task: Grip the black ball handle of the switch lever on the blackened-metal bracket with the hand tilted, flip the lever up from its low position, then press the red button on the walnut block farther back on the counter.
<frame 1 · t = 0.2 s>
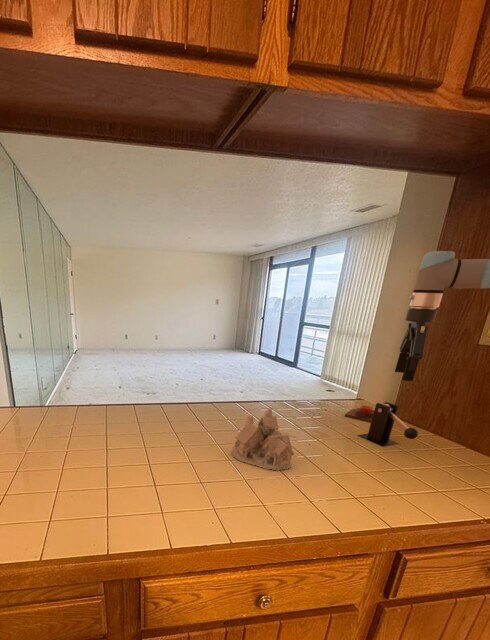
hand: (403, 376, 114), 23 cm above the worktop, tool pointing down, fingers open, 13 cm apart
switch lever: (398, 421, 112), point 10 cm above the worktop, hinge at -25.0°
red button: (366, 409, 139), point 4 cm above the worktop, slide at 0.1 cm
ceramic cottage: (260, 459, 106), on the worktop
button block: (363, 419, 141), on the worktop
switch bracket: (376, 442, 120), on the worktop
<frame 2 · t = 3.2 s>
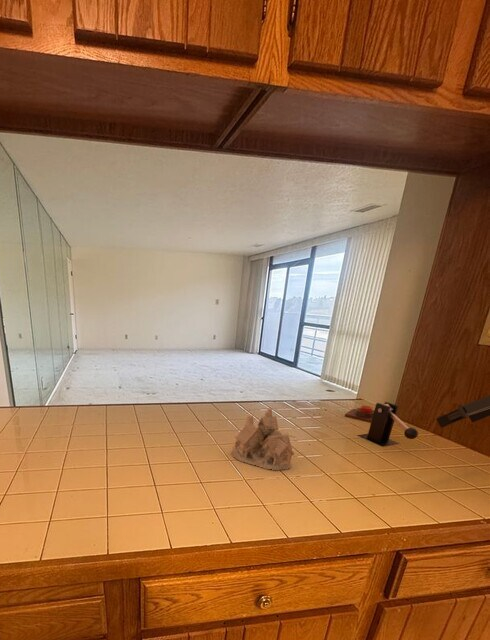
hand: (455, 420, 97), 15 cm above the worktop, tool tilted 45°, fingers open, 13 cm apart
nothing on the worktop moved.
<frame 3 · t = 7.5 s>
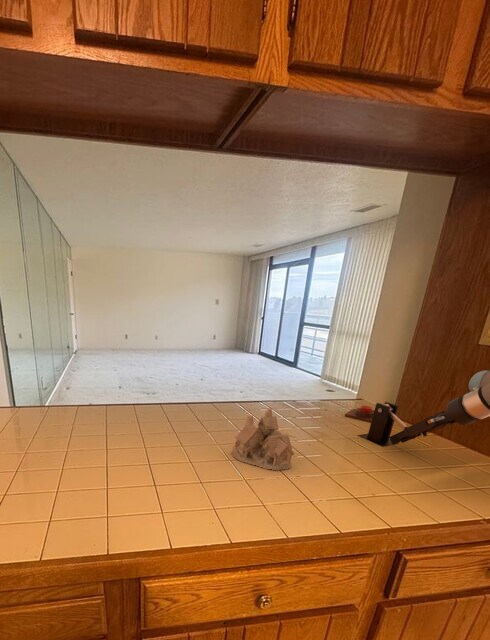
hand: (396, 439, 113), 4 cm above the worktop, tool tilted 45°, fingers closed on switch lever, 4 cm apart
switch lever: (398, 421, 112), point 10 cm above the worktop, hinge at -25.0°, touching gripper
everything else where it was.
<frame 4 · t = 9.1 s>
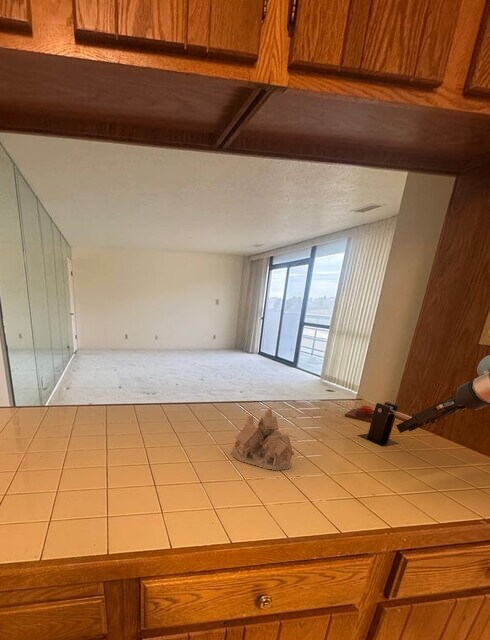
hand: (403, 428, 111), 8 cm above the worktop, tool tilted 45°, fingers closed on switch lever, 4 cm apart
switch lever: (402, 415, 110), point 12 cm above the worktop, hinge at -1.8°, touching gripper
everything else where it was.
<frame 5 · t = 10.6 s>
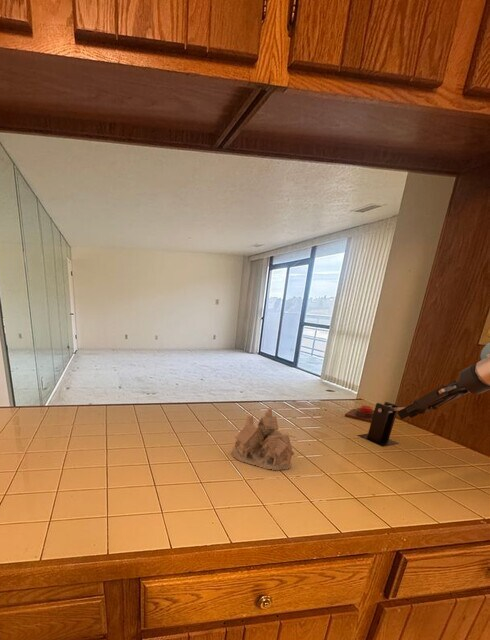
hand: (404, 414, 110), 12 cm above the worktop, tool tilted 45°, fingers closed on switch lever, 4 cm apart
switch lever: (403, 409, 110), point 14 cm above the worktop, hinge at 19.9°, touching gripper
everything else where it was.
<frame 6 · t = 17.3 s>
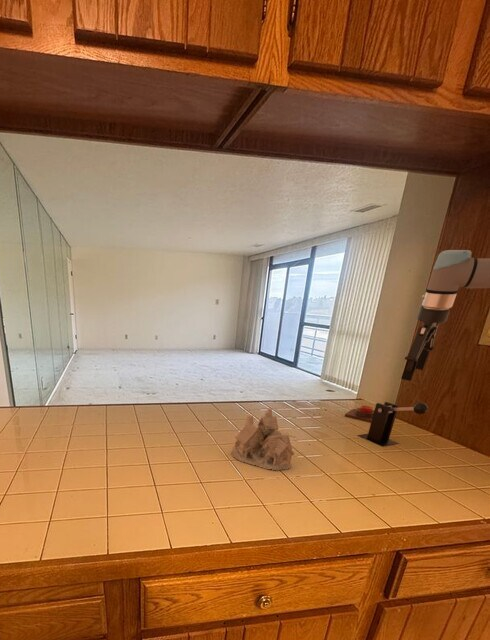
hand: (412, 374, 115), 23 cm above the worktop, tool pointing down, fingers open, 13 cm apart
switch lever: (403, 409, 110), point 14 cm above the worktop, hinge at 19.7°
everything else where it was.
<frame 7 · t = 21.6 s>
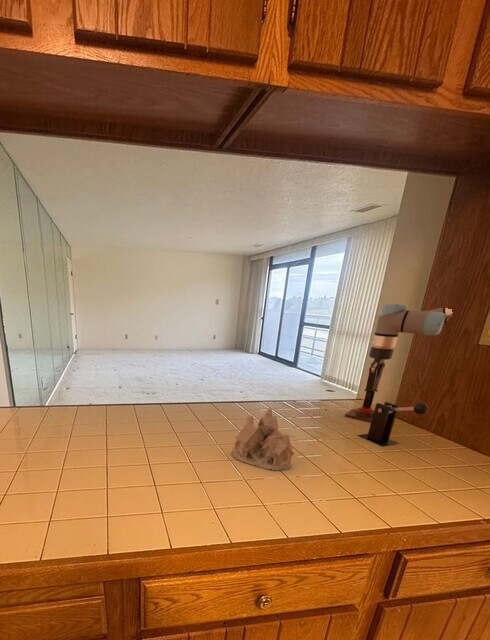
hand: (366, 407, 139), 5 cm above the worktop, tool pointing down, fingers closed
red button: (366, 409, 139), point 4 cm above the worktop, slide at 0.0 cm, touching gripper
everything else where it was.
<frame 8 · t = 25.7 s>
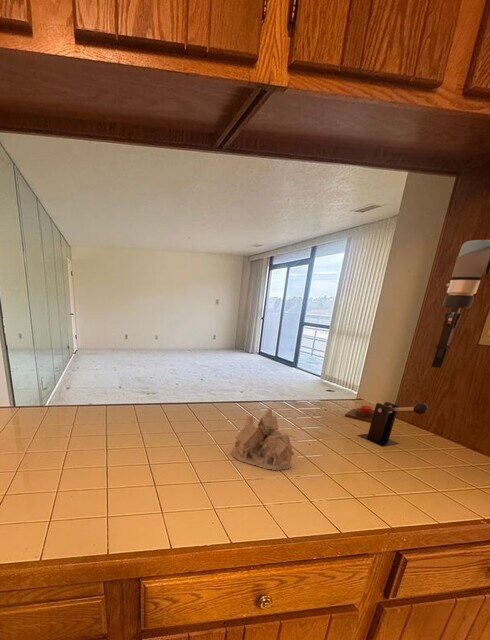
hand: (436, 366, 121), 24 cm above the worktop, tool pointing down, fingers closed
red button: (366, 409, 139), point 4 cm above the worktop, slide at 0.1 cm
everything else where it was.
at the end: switch lever at +20° (first picture: -25°); red button pushed in 1.0 cm at the most during the clip, back to where it started at the end; red button slide at 0.1 cm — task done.
